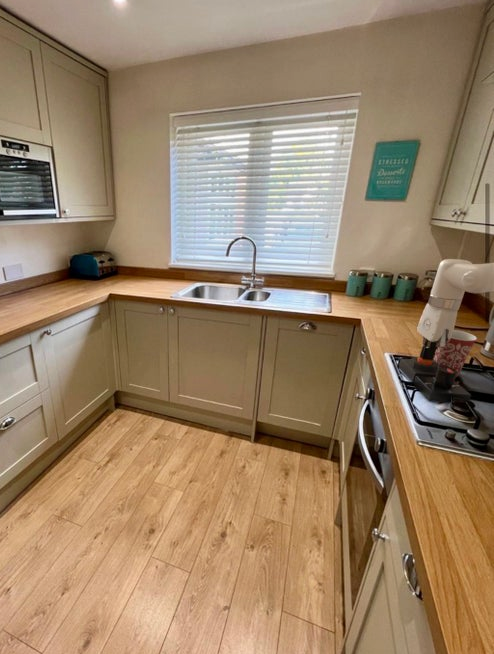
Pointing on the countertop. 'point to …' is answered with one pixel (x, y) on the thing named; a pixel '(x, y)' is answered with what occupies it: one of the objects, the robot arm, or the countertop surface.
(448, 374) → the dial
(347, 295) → the countertop surface
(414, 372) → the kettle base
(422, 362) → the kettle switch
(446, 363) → the mug
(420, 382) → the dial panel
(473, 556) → the countertop surface
